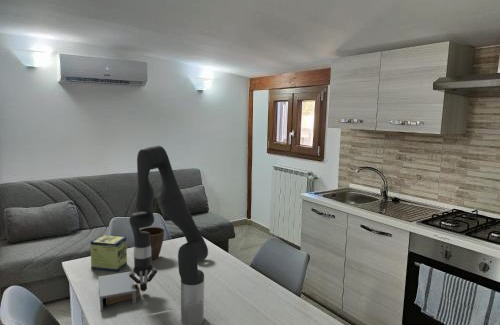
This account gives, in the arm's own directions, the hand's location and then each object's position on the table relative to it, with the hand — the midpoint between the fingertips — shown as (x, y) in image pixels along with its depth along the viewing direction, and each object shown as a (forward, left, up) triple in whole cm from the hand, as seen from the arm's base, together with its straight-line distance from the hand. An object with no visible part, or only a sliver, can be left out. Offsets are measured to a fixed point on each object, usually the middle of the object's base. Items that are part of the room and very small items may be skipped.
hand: (143, 290), depth 162 cm
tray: (0, +9, -2) cm, 9 cm away
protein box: (+38, +13, -2) cm, 40 cm away
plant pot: (+42, -10, -2) cm, 43 cm away
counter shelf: (+3, +11, -2) cm, 12 cm away
